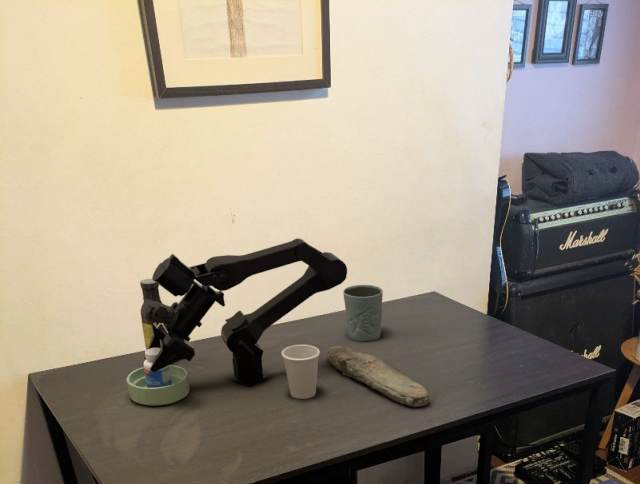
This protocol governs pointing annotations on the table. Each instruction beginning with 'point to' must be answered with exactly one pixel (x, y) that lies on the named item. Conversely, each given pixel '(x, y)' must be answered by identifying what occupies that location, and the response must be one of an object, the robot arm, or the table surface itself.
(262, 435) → the table surface
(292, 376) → the dixie cup
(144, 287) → the sauce bottle
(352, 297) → the green ceramic cup
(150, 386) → the pill bottle
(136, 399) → the bowl
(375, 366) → the long grey stone
